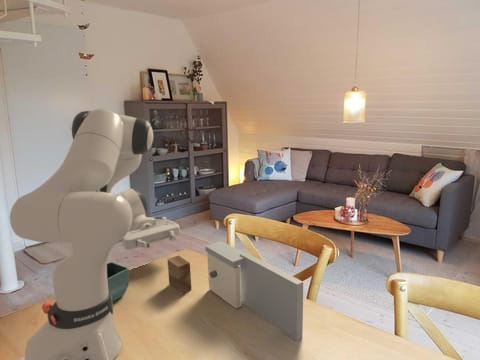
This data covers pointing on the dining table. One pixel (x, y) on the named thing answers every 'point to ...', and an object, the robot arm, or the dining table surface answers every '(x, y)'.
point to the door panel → (224, 280)
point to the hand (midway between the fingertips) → (160, 242)
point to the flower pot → (117, 279)
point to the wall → (266, 289)
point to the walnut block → (179, 274)
